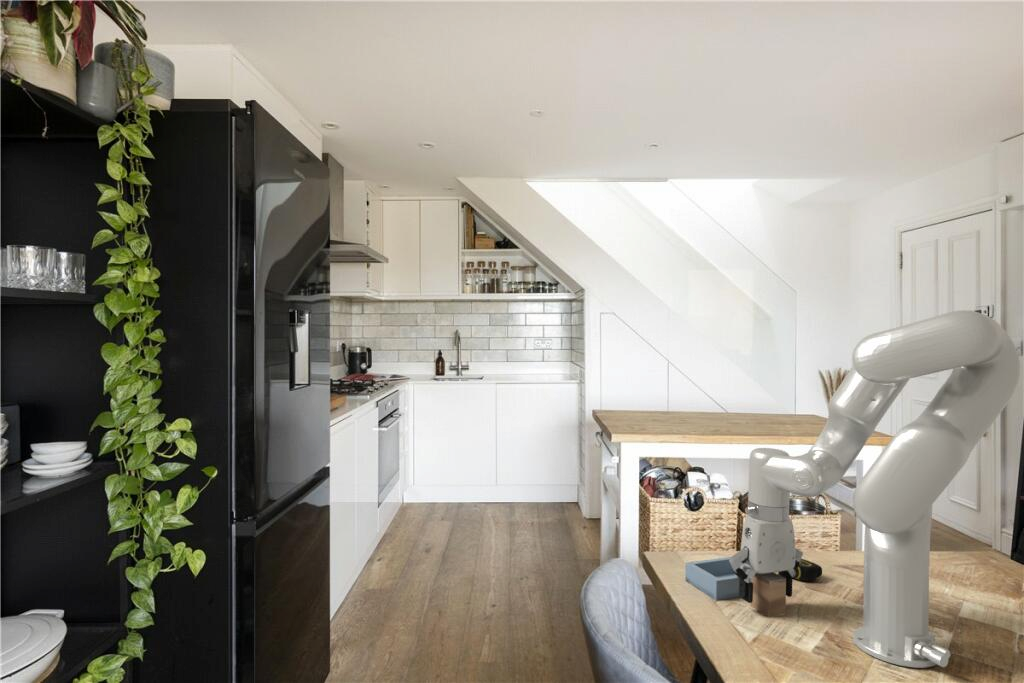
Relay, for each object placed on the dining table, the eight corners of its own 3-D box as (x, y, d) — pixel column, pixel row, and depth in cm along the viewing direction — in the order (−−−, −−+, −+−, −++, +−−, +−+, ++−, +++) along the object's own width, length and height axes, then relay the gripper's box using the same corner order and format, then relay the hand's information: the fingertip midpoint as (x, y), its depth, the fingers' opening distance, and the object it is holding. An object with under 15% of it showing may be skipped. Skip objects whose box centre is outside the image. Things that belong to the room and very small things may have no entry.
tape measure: (824, 580, 132) (824, 564, 132) (804, 586, 129) (804, 569, 129) (796, 570, 138) (796, 554, 138) (777, 575, 135) (777, 558, 135)
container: (772, 591, 126) (772, 572, 126) (716, 600, 121) (716, 580, 121) (738, 573, 136) (738, 555, 136) (685, 580, 131) (685, 562, 131)
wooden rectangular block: (785, 614, 115) (785, 578, 115) (769, 617, 114) (769, 581, 114) (766, 603, 120) (767, 569, 120) (750, 606, 119) (751, 571, 119)
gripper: (746, 520, 111) (743, 611, 111) (817, 513, 116) (814, 599, 117) (719, 509, 118) (717, 594, 118) (787, 503, 124) (785, 584, 124)
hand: (765, 596), depth 117 cm, fingers open, 9 cm apart
